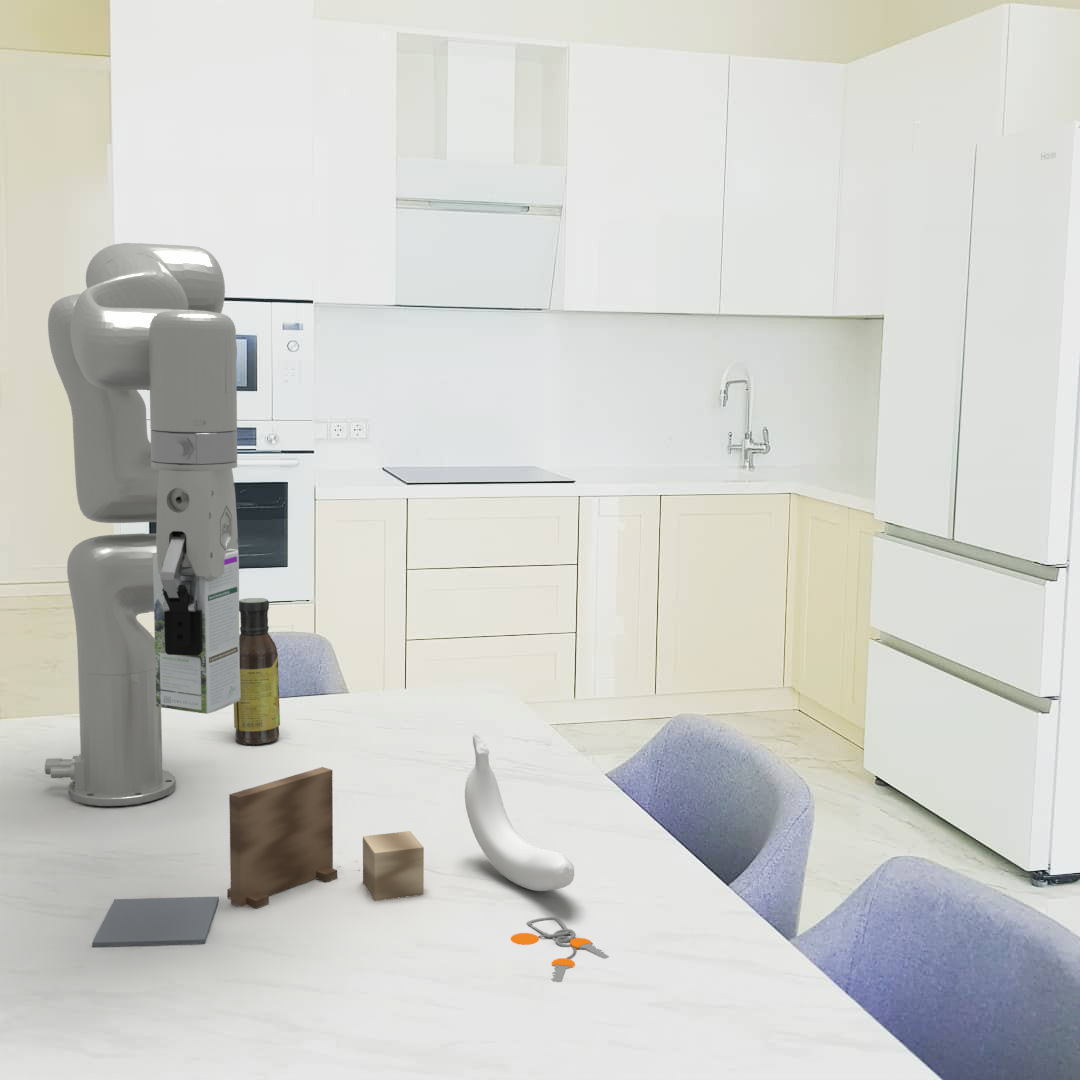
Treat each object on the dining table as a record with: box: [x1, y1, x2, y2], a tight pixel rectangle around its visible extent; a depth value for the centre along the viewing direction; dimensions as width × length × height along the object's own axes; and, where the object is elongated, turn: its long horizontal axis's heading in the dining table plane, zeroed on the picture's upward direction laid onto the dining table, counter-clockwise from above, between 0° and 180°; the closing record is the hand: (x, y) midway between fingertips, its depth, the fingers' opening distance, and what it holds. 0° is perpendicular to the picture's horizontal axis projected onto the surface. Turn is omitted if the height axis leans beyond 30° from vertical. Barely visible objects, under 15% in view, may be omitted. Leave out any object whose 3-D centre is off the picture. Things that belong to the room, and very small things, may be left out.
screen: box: [226, 766, 338, 909], centre depth 136 cm, size 12×4×11 cm, turn 141°
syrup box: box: [153, 549, 241, 715], centre depth 124 cm, size 6×6×14 cm
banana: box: [464, 733, 575, 892], centre depth 138 cm, size 5×19×15 cm, turn 37°
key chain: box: [510, 916, 610, 983], centre depth 124 cm, size 13×7×1 cm, turn 24°
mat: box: [91, 896, 220, 948], centre depth 128 cm, size 10×10×1 cm
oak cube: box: [362, 830, 425, 902], centre depth 137 cm, size 5×5×5 cm
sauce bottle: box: [233, 597, 281, 746], centre depth 188 cm, size 6×6×20 cm
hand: (196, 643), depth 124 cm, fingers closed on syrup box, 7 cm apart
